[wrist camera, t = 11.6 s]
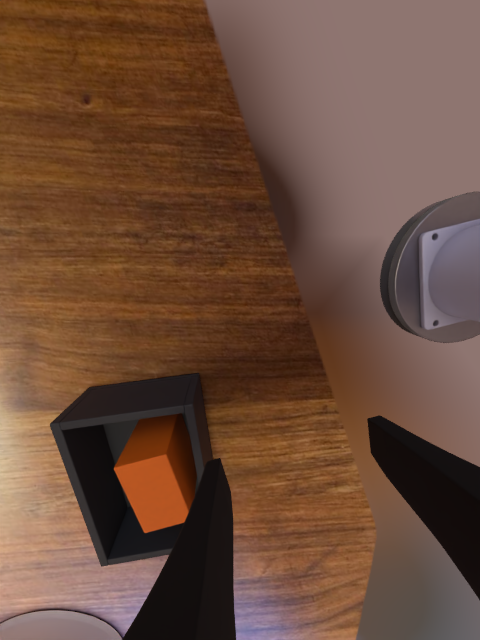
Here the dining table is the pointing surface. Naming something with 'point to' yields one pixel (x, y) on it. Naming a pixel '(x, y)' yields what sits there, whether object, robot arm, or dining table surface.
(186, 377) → the open box
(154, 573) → the dining table surface
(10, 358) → the dining table surface
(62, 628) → the vase
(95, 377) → the dining table surface
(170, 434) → the block
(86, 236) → the dining table surface
